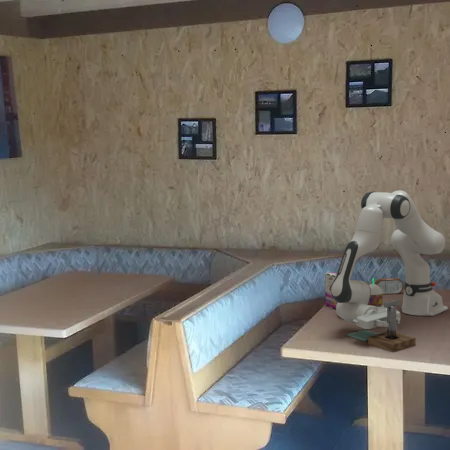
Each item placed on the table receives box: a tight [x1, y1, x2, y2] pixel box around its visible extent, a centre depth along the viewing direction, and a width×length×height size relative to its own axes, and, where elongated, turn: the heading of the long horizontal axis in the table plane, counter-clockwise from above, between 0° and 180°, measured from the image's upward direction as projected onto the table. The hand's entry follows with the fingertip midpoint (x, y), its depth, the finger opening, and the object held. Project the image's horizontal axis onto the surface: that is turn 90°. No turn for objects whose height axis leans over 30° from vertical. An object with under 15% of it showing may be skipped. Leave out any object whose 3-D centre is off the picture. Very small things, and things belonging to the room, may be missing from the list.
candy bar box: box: [324, 271, 338, 310], centre depth 324 cm, size 11×5×16 cm, turn 23°
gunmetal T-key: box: [383, 299, 400, 340], centre depth 264 cm, size 7×4×18 cm, turn 124°
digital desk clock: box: [374, 277, 404, 296], centre depth 346 cm, size 15×3×8 cm, turn 93°
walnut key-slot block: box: [367, 331, 417, 353], centre depth 265 cm, size 13×13×3 cm
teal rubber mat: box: [346, 329, 378, 342], centre depth 278 cm, size 10×10×1 cm
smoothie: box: [368, 277, 384, 306], centre depth 296 cm, size 8×8×20 cm
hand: (393, 323), depth 264 cm, fingers open, 5 cm apart
